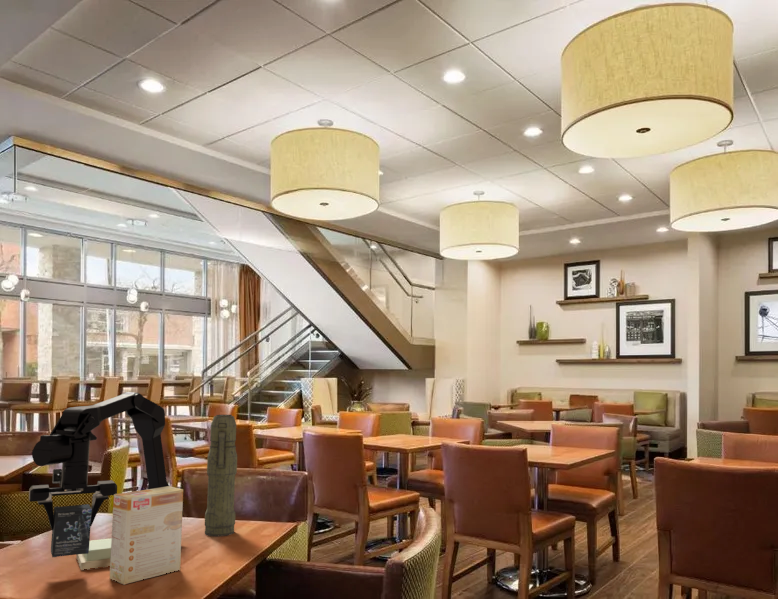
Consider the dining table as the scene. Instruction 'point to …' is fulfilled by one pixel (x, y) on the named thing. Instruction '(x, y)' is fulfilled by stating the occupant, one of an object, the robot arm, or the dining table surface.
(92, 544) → the upper slab
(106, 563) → the lower slab
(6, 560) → the dining table surface
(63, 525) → the box
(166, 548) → the coffeecake box
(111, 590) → the dining table surface
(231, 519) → the thermos
